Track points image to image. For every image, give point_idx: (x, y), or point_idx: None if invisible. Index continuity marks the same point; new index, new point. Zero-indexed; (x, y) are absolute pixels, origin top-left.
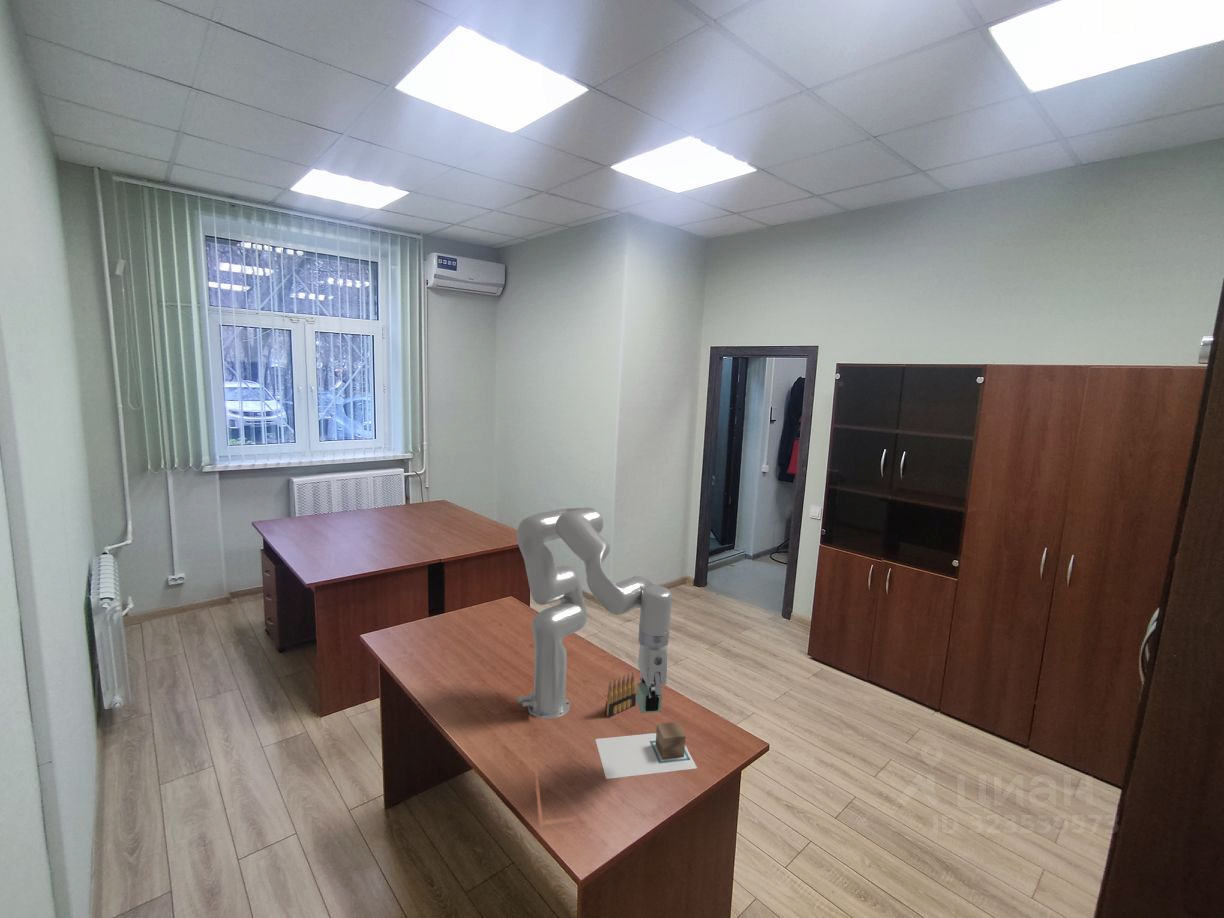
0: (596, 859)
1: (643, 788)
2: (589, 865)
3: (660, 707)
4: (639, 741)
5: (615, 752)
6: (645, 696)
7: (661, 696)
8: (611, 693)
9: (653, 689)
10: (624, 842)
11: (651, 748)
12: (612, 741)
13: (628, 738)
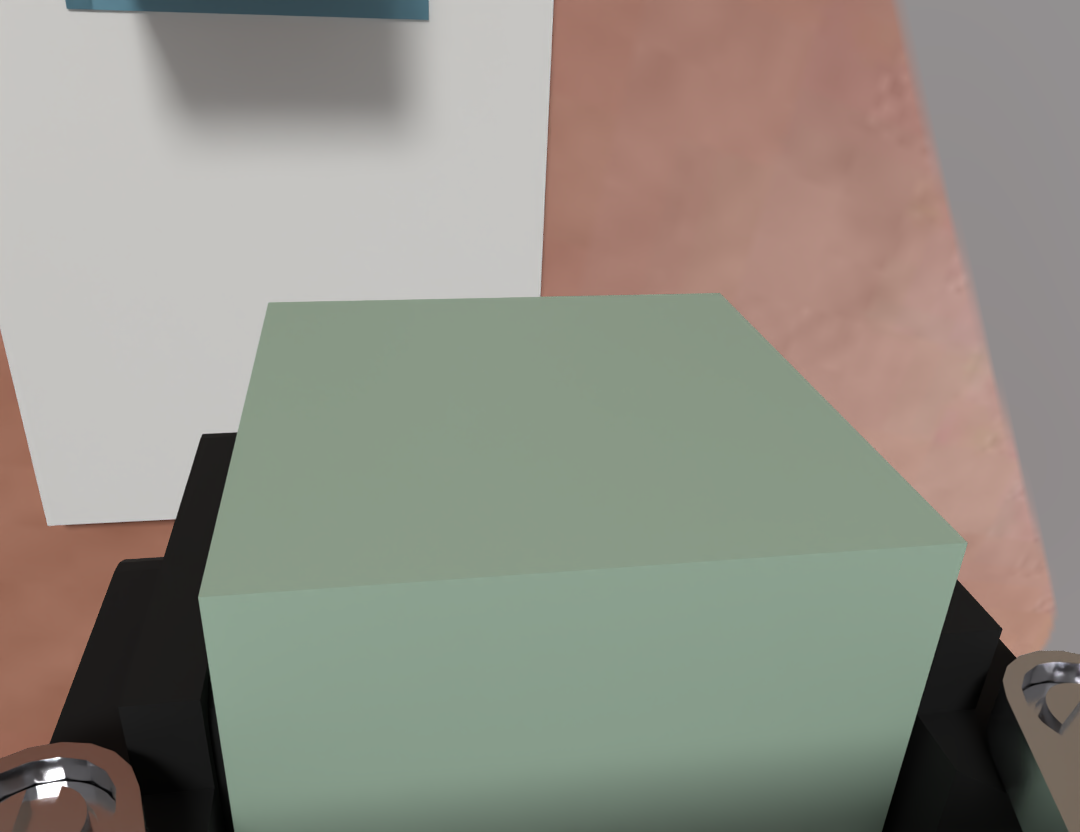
0: (1021, 592)
1: (643, 235)
2: (1034, 622)
3: (753, 342)
4: (70, 128)
5: (236, 391)
6: None
7: (907, 494)
8: None
9: (672, 751)
10: (997, 451)
11: (191, 27)
12: (79, 392)
13: (22, 233)
